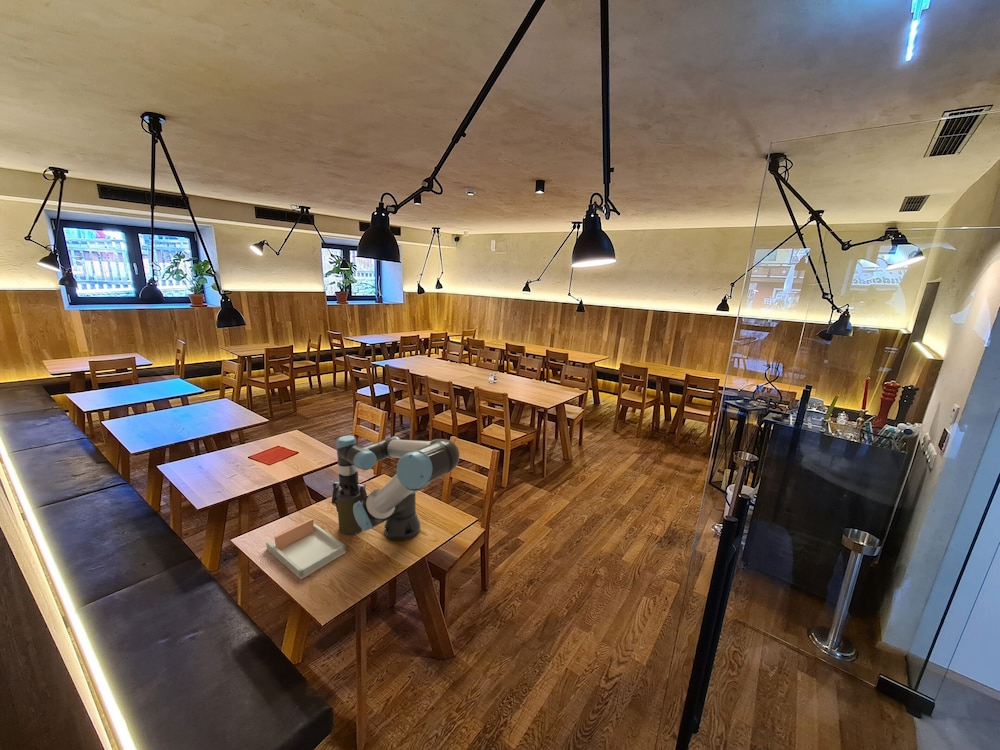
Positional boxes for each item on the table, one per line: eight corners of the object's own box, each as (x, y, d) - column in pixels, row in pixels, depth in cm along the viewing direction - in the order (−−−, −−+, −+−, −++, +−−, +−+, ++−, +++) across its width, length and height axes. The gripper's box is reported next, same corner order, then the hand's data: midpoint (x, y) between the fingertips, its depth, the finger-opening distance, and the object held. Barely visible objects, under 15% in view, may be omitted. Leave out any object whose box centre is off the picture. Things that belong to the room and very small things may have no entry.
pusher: (314, 531, 163) (313, 519, 162) (277, 550, 151) (275, 537, 150) (305, 525, 167) (304, 513, 166) (268, 543, 155) (267, 530, 154)
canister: (355, 537, 162) (353, 495, 158) (333, 533, 164) (330, 491, 159) (369, 522, 173) (367, 482, 168) (348, 518, 175) (345, 478, 170)
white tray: (345, 552, 153) (345, 545, 153) (300, 579, 139) (300, 571, 138) (310, 527, 168) (310, 520, 167) (266, 549, 154) (266, 542, 153)
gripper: (376, 470, 164) (378, 516, 170) (329, 465, 167) (333, 511, 172) (367, 478, 157) (370, 527, 162) (319, 473, 160) (323, 521, 165)
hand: (351, 519), depth 167 cm, fingers open, 9 cm apart
